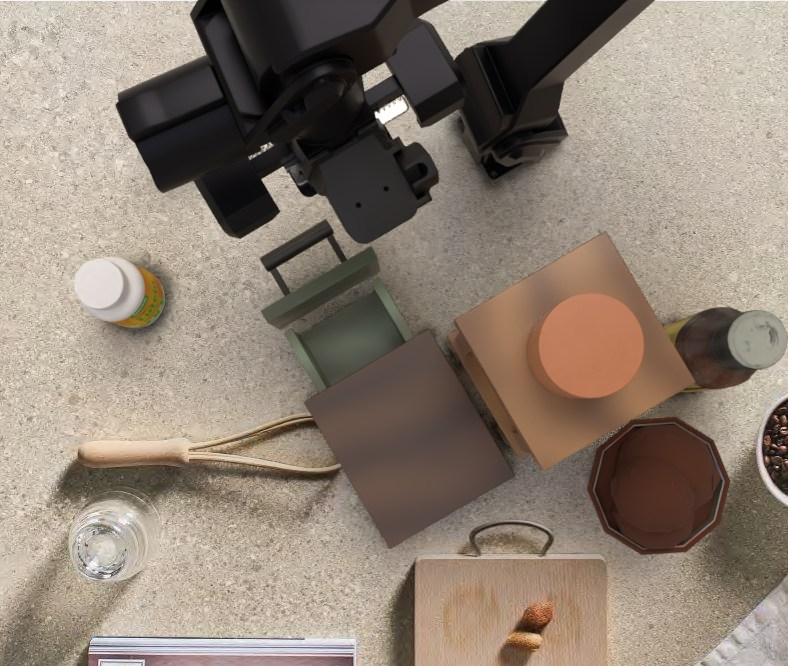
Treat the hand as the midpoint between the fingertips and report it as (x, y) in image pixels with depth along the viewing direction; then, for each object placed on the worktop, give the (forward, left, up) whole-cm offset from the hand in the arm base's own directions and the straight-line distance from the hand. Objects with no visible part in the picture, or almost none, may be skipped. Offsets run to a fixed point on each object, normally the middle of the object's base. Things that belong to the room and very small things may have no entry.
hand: (337, 163), depth 67 cm
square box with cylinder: (-6, +21, -12) cm, 25 cm away
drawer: (+6, +10, -11) cm, 16 cm away
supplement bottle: (+21, -2, -12) cm, 24 cm away
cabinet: (+6, +21, -12) cm, 25 cm away
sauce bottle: (-18, +27, -12) cm, 35 cm away
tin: (-6, +21, +12) cm, 25 cm away
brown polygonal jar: (-9, +34, -12) cm, 37 cm away
